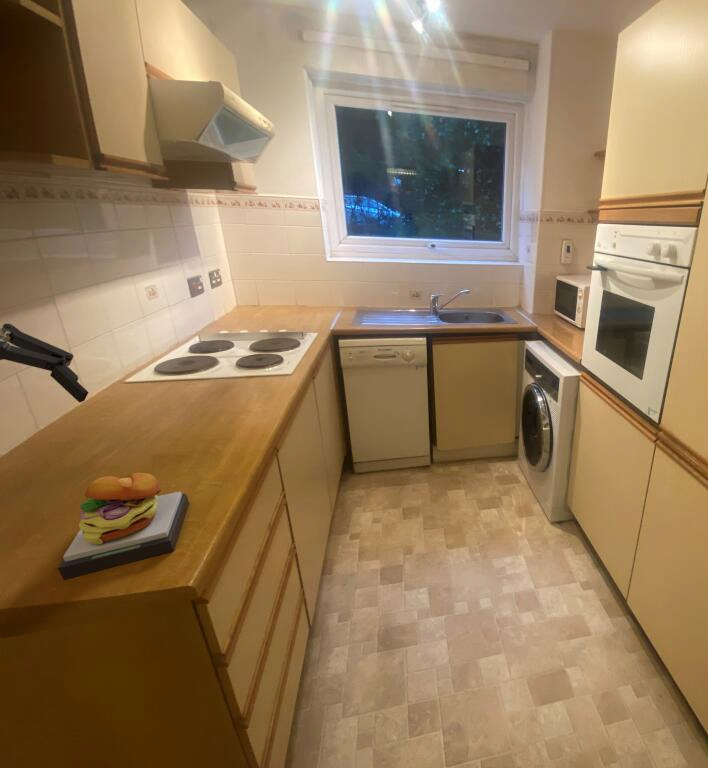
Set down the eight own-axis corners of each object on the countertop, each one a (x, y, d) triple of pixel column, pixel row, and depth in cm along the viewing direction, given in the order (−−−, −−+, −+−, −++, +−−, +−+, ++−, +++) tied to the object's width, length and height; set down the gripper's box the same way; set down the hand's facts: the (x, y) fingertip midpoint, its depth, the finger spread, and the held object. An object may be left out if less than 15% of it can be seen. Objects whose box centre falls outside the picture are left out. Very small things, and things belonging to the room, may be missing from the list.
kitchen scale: (63, 579, 67) (55, 563, 66) (96, 524, 78) (89, 508, 77) (173, 551, 72) (168, 535, 71) (189, 503, 84) (184, 488, 83)
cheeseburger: (61, 544, 69) (53, 484, 67) (129, 515, 79) (123, 462, 78) (115, 551, 67) (109, 490, 66) (177, 520, 78) (173, 467, 76)
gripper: (23, 313, 80) (112, 397, 82) (-215, 353, 57) (-83, 466, 60) (32, 285, 77) (125, 373, 79) (-215, 316, 54) (-76, 438, 56)
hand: (35, 414), depth 69 cm, fingers open, 13 cm apart
